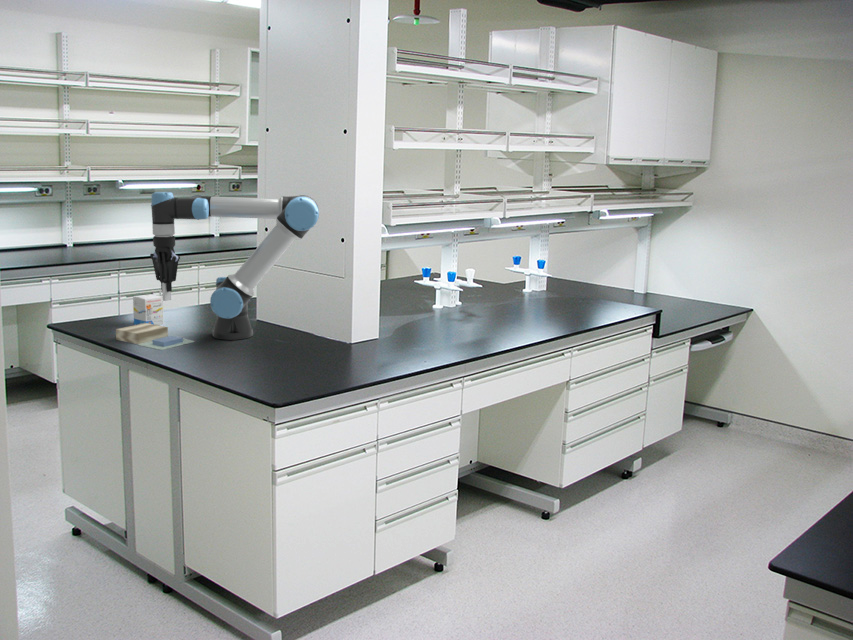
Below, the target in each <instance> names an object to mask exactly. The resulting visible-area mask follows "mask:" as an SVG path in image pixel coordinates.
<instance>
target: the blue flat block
mask: <svg viewBox="0 0 853 640" xmlns="http://www.w3.org/2000/svg"><path fill="white" fill-rule="evenodd" d="M183 339H184V337H180V336H175V335H168V337H163V338H159V339H155V340H152V342H153V345H158V346H163V347H165V346H169V345H173V344H177V343H182V342H183Z"/></svg>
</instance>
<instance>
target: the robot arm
mask: <svg viewBox="0 0 853 640" xmlns="http://www.w3.org/2000/svg"><path fill="white" fill-rule="evenodd" d="M150 203H151V205H150V206H151V207H150V208H151V218H152V221H151V223H152V235H153V237H152V241H153V242H152V244H153V247H154V252H153V253H150V254H149V256H150V259H151V260H152V265H153V269H154V275H155V279H156V281H159V283H160V288H161V289H160V290H161V292H162V299H163V302H164V301H165V302H167V301H171V300H172V290H173V289H172V288H173V286H172V283H173V282H175V281H177V275H178V274H177V273H178V268H179V267H178V266H179V262H180V260H181V256H180V255H177V254H175V252H176V251H175V249H174V248H175V246H176V236H175V234H176V232H175V228H176V227H175V220H198V221H199V220H207V219H208V218H209V217H211V218H212V217H217V218H242V219H243V218H244V219H262V220H263V219H264V220H266V219H268V220H276V221H275V222H276V225H275V226H274V227H272V229H271V231H270V232H269V233H268V234H267V236H265V238H264V239H263V240H262V241H261V243H260V244H258V246H257V247H256V249H255V250H254V251H253V252H252V253H251V254H250V255H249V257H248V258H247V259H246V260H245V261H244V263H242V265H241V266H240V267H239V269H238V270H237V271H236V272H235V273H234V274H228V275H227V276H219V277H217V278H216V280H215V287H216V289H215V290H214V291H213V293H212V294H211V296H210V300H209V301H210V302H209V304H210V305H209V306H210V308H211V310H212V312H213V313H214V314H215V315H216V319H215V321H214V326H213V328H212V337H214V338H215V339H218V340H228V341H229V340H230V341H231V340H233V341H234V340H235V341H236V340H244V339H248V338H251V337H253V335H254V331H253V327H252V325H251V322H250V318H249V314H248V313H249V311H248V310H249V307H248V305H249V304H248V302H250V300H251V299H252V298H253V296H254V294H255V293H254V289H255V288H256V286H258V284H259V283H260V282H261V281H262V279H264V277H265V276H266V275H267V274H268V273H269V271H270V270H271V269H272V267H274V266H275V264H276V263H277V262H278V260H280V258H281V257H282V256H283V255H284V253H285V252H286V251H287V250H288V249H289V248H290V246H292V244H293V243H294V241H298V240H302V239H303V238H304V237H305V235H306V234H307V233H308V232H309V231H310V229H311V228H313V227H315V225H316V224H317V223H318V220H319V217H320V209H319V205H318V203H317V201H315V199H314V198H312V197H311V196H308V195H305V194H304V195H303V194H302V195H301V194H299V195H293V196H292V195H291V196H281V197H280V198H261V197H240V196H239V197H237V196H236V197H234V196H233V197H232V196H208V195H200V194H197V195H196V194H194V195H191V196H190V197H174V193H173V192H171V191H155V192H152V194H151V201H150Z"/></svg>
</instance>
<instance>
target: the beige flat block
mask: <svg viewBox="0 0 853 640" xmlns="http://www.w3.org/2000/svg"><path fill="white" fill-rule="evenodd" d="M168 328H169V327H168V326H163V325H154V324H149V323H143V324H138V325H135V324H133V325H129V326H125V327H120V328H116V329H115V339H116V341H121V342H126V343H130V344H135V345H138V344H143V343H146V342H150V341H152V340H155V339H159V338H163V337H168V336H169V330H168Z"/></svg>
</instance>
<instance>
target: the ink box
mask: <svg viewBox="0 0 853 640" xmlns="http://www.w3.org/2000/svg"><path fill="white" fill-rule="evenodd" d="M132 300H133V301H132V304H133V305H132V306H133V307H132V308H133V310H132V311H133V325H138V324H143V323H149V324H154V325H159V326H162V325H161V324H163V325H164V306H163V305H164V303H163V302H164V301H163V296H160V295H157V294H150V293H149V294H143V295H133V297H132Z"/></svg>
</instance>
